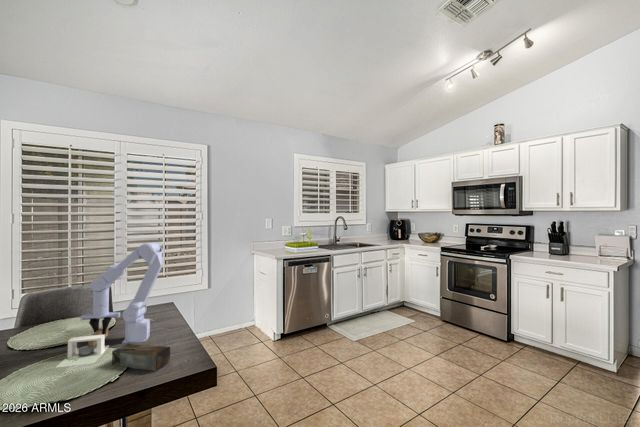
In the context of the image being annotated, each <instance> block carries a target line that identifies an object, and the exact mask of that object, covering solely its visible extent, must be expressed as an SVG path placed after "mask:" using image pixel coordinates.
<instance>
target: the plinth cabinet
mask: <svg viewBox="0 0 640 427" xmlns="http://www.w3.org/2000/svg"><path fill="white" fill-rule="evenodd" d="M91 335H92V334H91ZM91 335H84V336H73V337H71V338H70V339H68V341H67V357H68V358H70V357H73V356H74V355H75V354H76V353H77V348H78V347H77V346H78V343H81V342H88V341H94V340H97V355H98V354H101V353H102V352H103V351H104V346H105V339H106V337H105V334H104V335H92V336H91Z"/></svg>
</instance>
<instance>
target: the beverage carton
mask: <svg viewBox="0 0 640 427" xmlns="http://www.w3.org/2000/svg"><path fill="white" fill-rule="evenodd" d="M111 357H112V358H111V366H119V367H120V366H121V367H127V368H130V369H133V370H144V371H153V372H157V371H159V370H161V369H162V368H163V367H165V366H167V365H168V364H170V363H171V346H166V345H165V346H164V345H163V346H162V345H161V346H160V345H148V344H138V343H137V344H135V343H125V344H124V345H121V346H119V347H118V346H117V348H115V349H113V350H112V353H111Z"/></svg>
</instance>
